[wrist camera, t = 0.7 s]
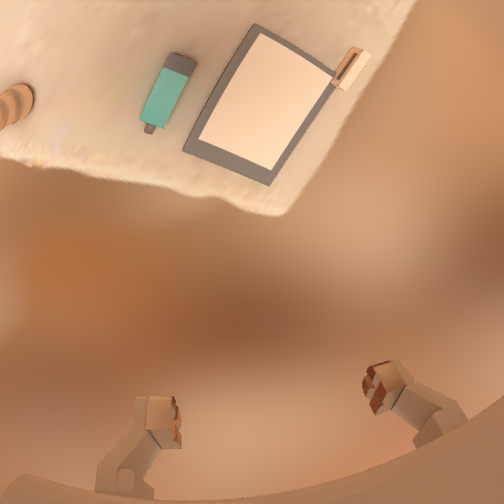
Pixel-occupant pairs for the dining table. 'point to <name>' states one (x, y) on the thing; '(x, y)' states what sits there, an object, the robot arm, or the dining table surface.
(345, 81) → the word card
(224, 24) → the dining table surface
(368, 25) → the dining table surface
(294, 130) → the writing board
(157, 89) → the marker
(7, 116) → the plastic bottle
